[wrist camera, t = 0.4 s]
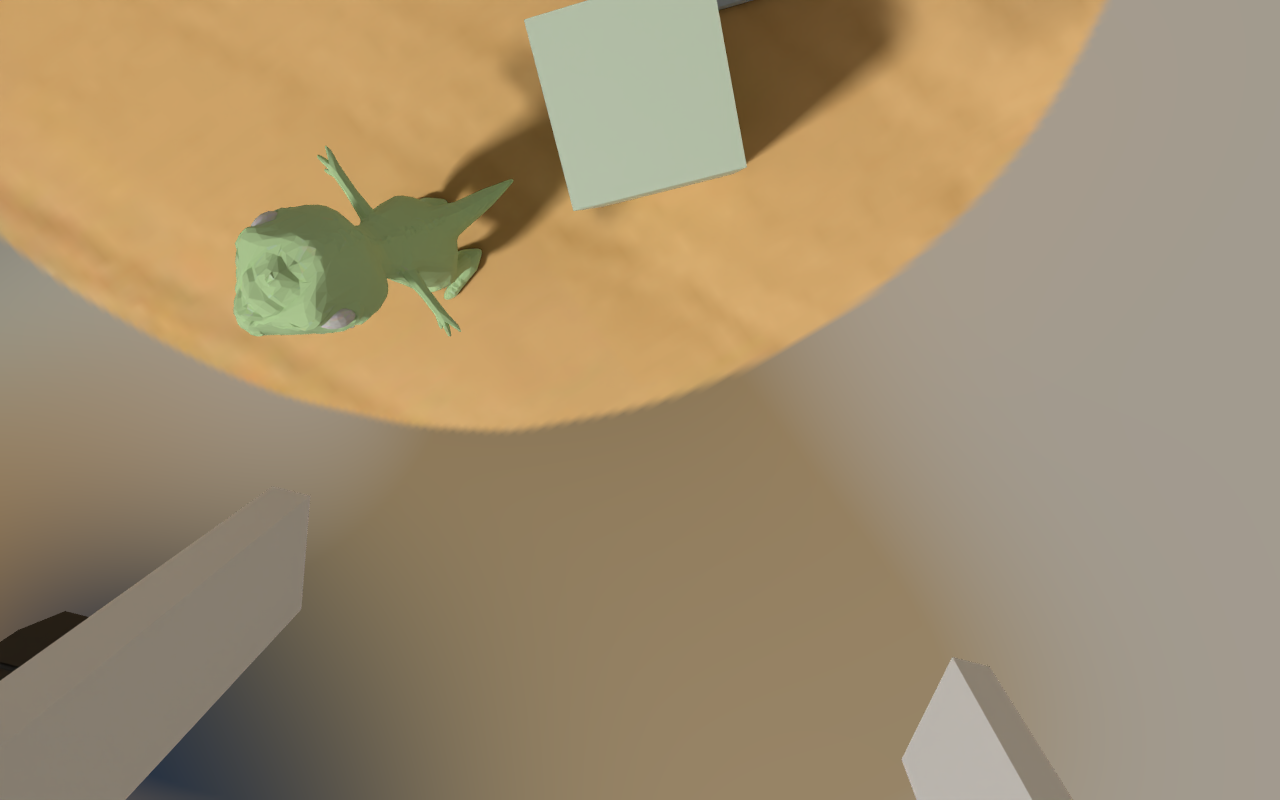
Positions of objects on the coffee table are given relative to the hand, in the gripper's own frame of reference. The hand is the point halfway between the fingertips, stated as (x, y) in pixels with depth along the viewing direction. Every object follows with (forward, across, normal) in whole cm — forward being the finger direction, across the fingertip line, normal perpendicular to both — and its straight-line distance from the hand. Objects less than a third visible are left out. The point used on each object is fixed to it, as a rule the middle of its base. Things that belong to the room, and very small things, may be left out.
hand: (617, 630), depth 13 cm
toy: (+25, -13, +3) cm, 28 cm away
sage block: (+25, -4, +11) cm, 27 cm away
